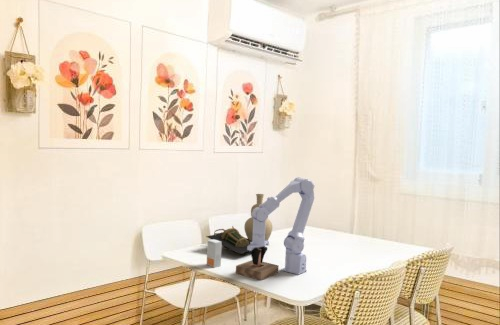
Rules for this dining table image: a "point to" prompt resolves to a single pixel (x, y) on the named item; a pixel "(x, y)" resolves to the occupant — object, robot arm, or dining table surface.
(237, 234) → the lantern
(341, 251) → the dining table surface
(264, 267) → the socket block
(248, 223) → the vase
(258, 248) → the peg
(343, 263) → the dining table surface
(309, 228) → the dining table surface
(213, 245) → the skincare box
